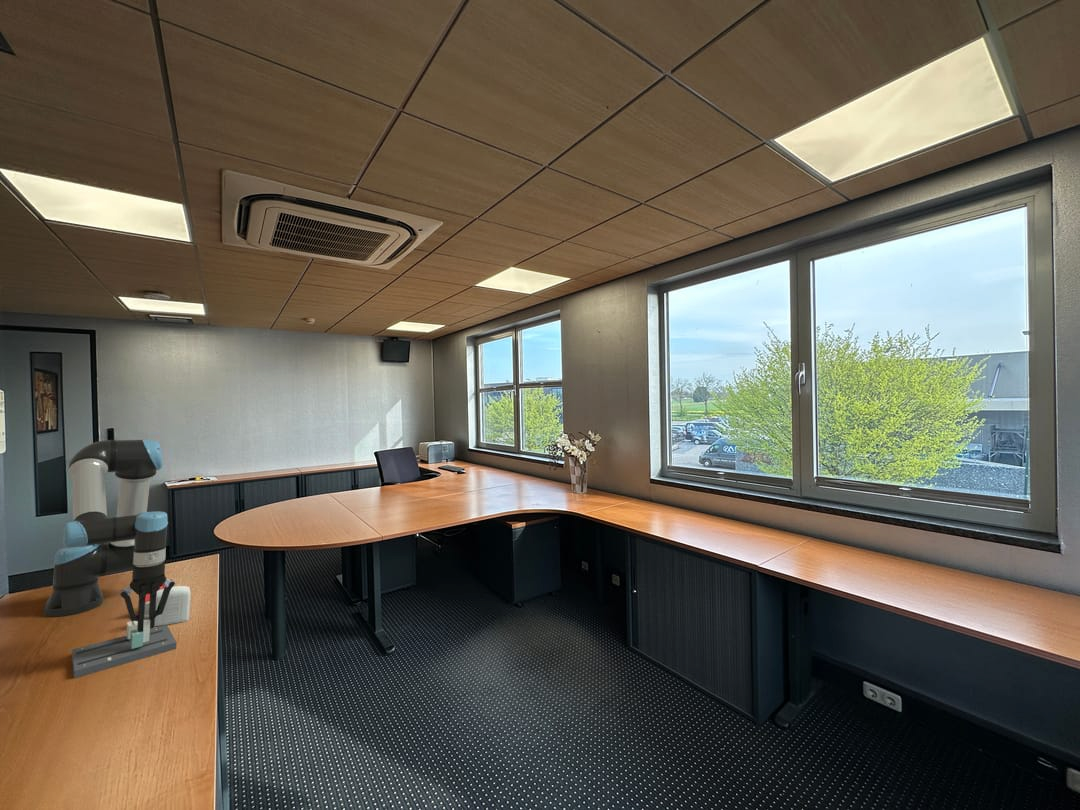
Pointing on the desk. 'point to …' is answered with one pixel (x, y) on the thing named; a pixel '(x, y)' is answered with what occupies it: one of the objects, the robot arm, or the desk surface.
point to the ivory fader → (131, 628)
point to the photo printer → (174, 606)
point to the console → (119, 651)
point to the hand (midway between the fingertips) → (145, 640)
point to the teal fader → (136, 639)
